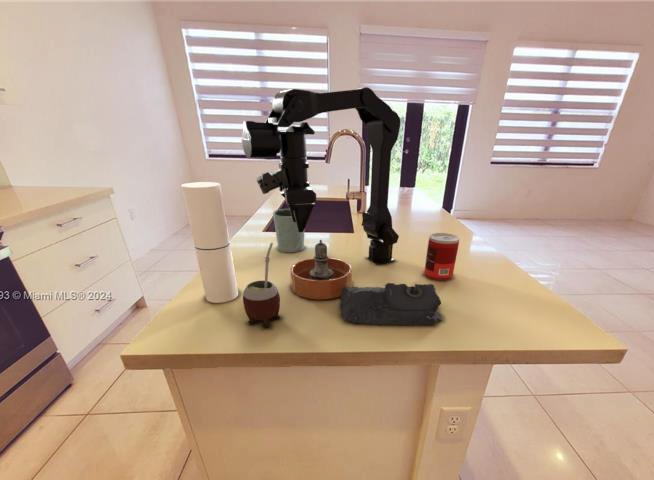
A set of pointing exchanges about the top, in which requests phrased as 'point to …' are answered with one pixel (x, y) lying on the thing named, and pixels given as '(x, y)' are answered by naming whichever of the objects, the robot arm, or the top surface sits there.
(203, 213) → the cylindrical container
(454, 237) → the canned food
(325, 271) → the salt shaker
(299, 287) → the bowl
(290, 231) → the green cup
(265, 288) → the mate gourd
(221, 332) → the top surface
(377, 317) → the dark slate chunk
